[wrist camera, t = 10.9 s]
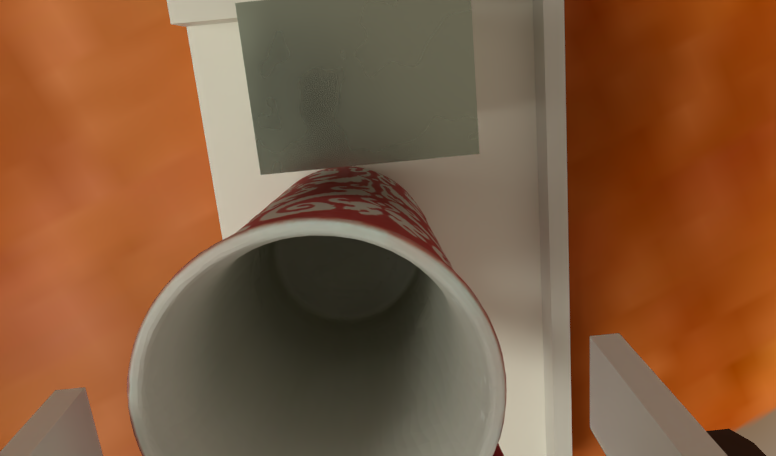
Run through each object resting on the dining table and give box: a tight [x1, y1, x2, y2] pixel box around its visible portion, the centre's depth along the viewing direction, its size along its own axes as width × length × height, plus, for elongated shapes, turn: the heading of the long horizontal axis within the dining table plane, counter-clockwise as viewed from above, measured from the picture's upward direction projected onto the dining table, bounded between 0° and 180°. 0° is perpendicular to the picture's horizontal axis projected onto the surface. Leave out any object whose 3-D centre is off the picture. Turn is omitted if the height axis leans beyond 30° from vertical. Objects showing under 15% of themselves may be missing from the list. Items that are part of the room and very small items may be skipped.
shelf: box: [167, 0, 572, 456], centre depth 28 cm, size 24×15×4 cm, turn 5°
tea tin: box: [235, 0, 479, 175], centre depth 21 cm, size 5×6×9 cm
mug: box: [127, 166, 507, 456], centre depth 22 cm, size 13×9×14 cm
